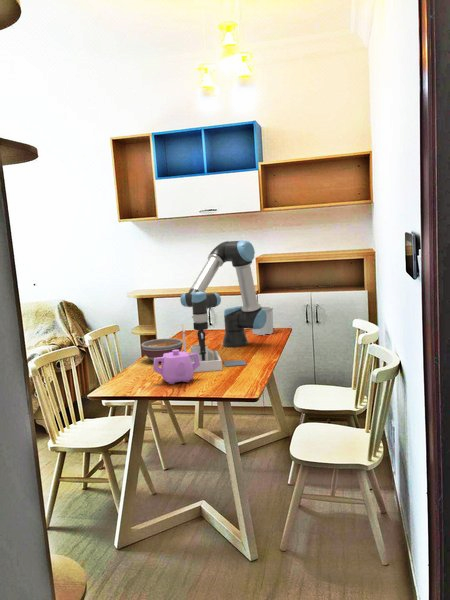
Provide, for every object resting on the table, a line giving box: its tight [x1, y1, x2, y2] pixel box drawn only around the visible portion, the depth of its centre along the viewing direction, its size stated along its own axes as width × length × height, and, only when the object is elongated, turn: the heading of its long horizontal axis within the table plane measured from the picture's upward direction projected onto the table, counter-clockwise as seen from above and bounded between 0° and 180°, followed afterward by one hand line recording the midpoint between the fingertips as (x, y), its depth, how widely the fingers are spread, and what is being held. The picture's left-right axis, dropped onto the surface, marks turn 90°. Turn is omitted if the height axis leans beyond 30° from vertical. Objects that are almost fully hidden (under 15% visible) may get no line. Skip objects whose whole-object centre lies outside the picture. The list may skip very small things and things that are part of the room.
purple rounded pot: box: [152, 350, 200, 385], centre depth 269 cm, size 19×18×15 cm
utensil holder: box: [251, 305, 274, 336], centre depth 376 cm, size 15×15×18 cm
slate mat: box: [222, 359, 247, 368], centre depth 297 cm, size 11×11×1 cm
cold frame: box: [181, 323, 223, 373], centre depth 295 cm, size 18×24×21 cm
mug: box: [190, 344, 214, 362], centre depth 296 cm, size 9×12×11 cm
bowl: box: [140, 337, 184, 363], centre depth 316 cm, size 23×23×10 cm
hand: (203, 364), depth 297 cm, fingers closed on mug, 9 cm apart
